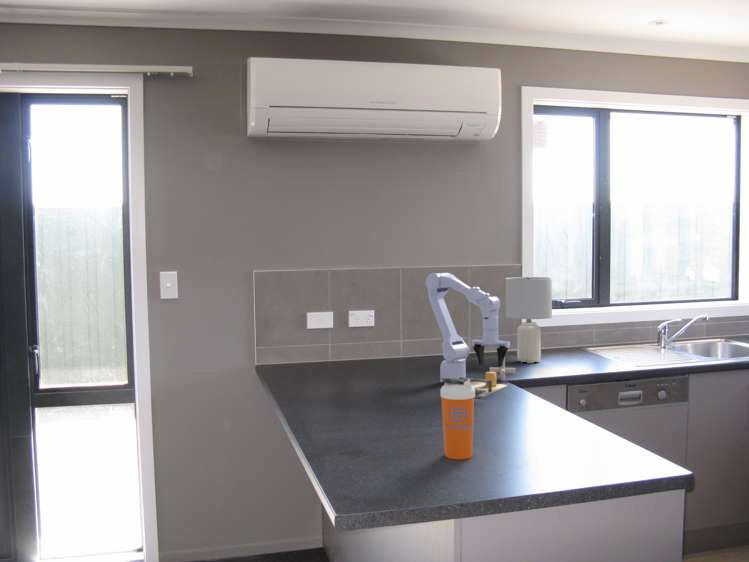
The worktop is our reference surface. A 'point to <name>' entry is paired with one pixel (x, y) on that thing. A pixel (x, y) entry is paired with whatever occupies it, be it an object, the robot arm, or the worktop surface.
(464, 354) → the robot arm
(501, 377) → the pipe connector
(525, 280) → the lamp
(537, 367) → the worktop surface
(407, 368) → the worktop surface
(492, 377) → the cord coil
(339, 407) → the worktop surface
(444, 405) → the shaker bottle
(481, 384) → the shelf board
